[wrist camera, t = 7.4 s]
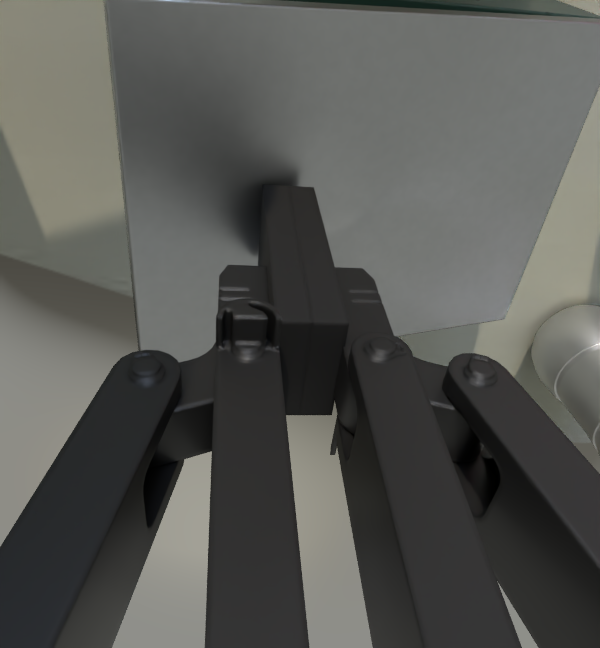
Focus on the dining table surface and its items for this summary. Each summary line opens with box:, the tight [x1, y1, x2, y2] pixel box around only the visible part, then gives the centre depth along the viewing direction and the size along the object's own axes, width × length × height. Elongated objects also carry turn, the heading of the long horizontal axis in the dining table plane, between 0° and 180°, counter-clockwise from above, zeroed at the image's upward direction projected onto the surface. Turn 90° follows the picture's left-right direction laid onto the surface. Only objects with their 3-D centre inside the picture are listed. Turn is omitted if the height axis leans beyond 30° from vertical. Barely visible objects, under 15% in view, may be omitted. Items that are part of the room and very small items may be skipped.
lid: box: [103, 0, 600, 363], centre depth 19 cm, size 15×12×1 cm
